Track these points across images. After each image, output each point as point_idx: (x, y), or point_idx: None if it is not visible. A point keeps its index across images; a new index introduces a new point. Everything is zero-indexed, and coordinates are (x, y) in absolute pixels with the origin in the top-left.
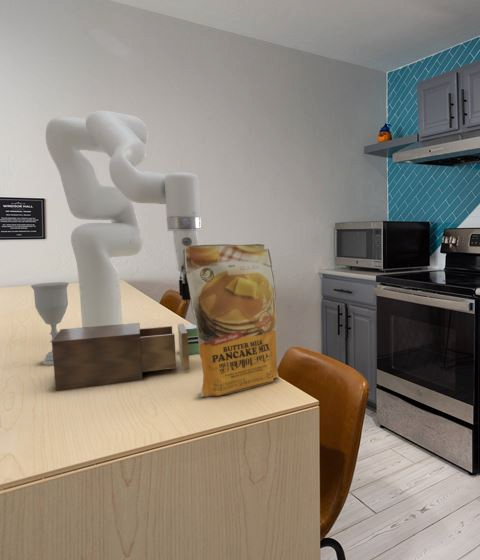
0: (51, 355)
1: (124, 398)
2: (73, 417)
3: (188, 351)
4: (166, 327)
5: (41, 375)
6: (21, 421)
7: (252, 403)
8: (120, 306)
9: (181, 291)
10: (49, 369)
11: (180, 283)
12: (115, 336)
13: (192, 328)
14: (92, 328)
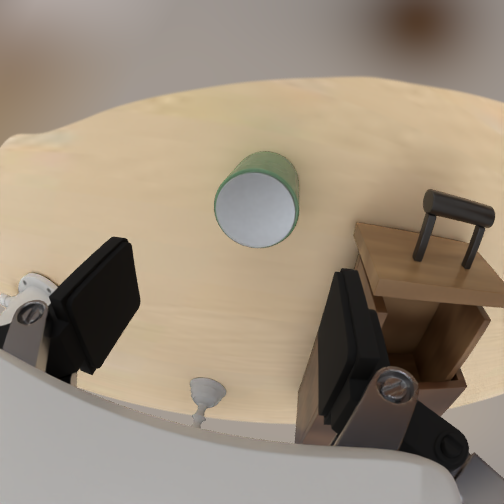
0: (216, 404)
1: (490, 336)
2: (492, 371)
3: (489, 265)
4: (381, 325)
5: (287, 406)
6: (460, 401)
7: None
8: (9, 322)
9: (128, 314)
10: (255, 398)
11: (104, 353)
12: (443, 412)
13: (295, 209)
14: (328, 439)
